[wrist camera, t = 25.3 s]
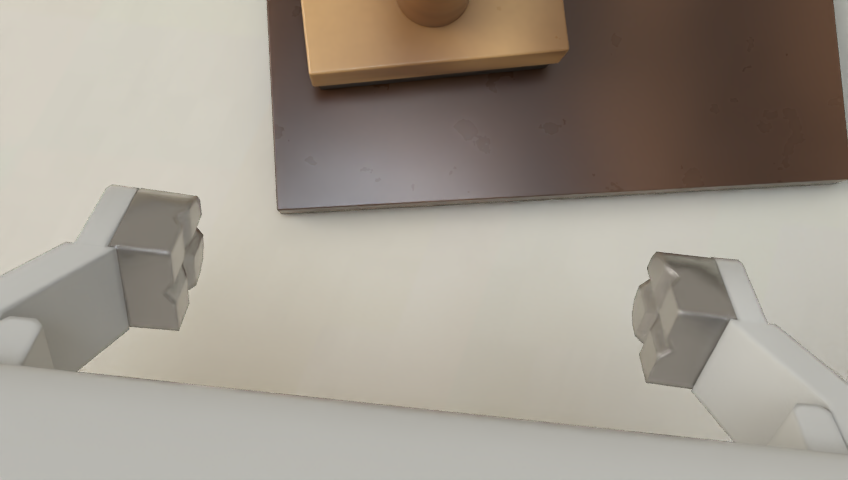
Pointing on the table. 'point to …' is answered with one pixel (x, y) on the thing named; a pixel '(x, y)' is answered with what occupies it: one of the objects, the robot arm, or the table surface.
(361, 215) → the table surface
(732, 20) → the board
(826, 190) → the table surface
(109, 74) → the table surface
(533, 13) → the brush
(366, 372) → the table surface
